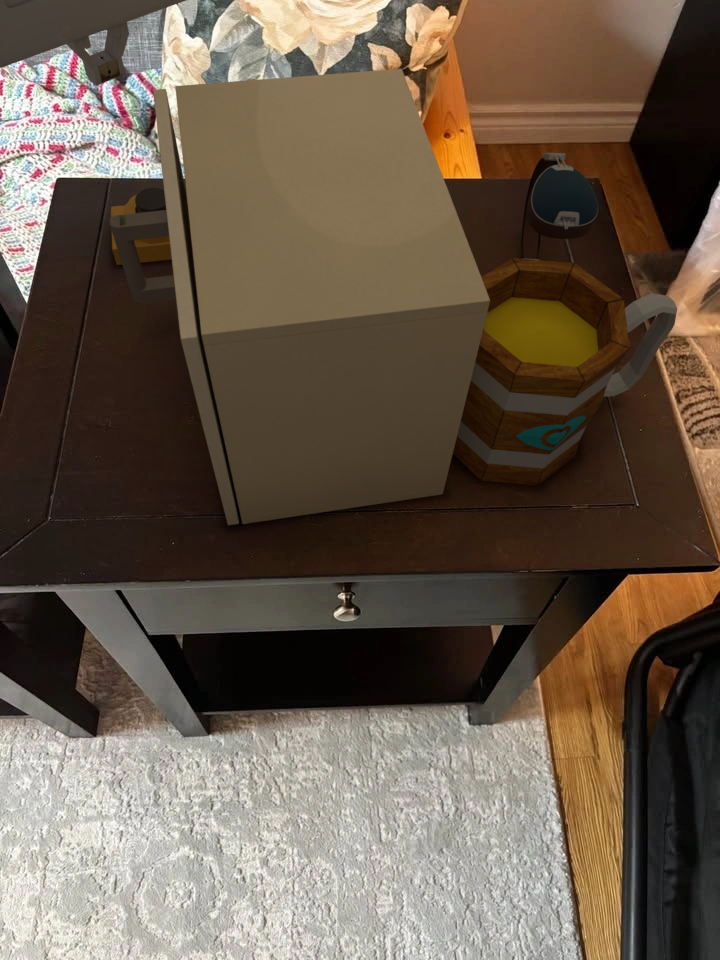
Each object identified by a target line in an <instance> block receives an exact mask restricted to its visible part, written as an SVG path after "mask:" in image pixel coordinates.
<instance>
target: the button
mask: <svg viewBox="0 0 720 960" xmlns="http://www.w3.org/2000/svg"><path fill="white" fill-rule="evenodd" d="M135 195H136V198H135V203H136V207H137V210H138V213H143V212H152V211H162V210H166V202H165V193H164V188H160V187H148V188H144V189H143V190H140V191H139V192H138V193H137V194H135Z"/></svg>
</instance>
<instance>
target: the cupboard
mask: <svg viewBox="0 0 720 960" xmlns="http://www.w3.org/2000/svg"><path fill="white" fill-rule="evenodd" d="M174 87H175V97H176V98H175V99H176V105H177V106H176V107H177V115H178V123H179V124H178V125H179V127H178V128H179V134H180V146H181V153H182V155H181V156H182V164H183V175H184V183H185V188H186V193H187V203H188V213H189V222H190V232H191V241H192V251H193V260H194V270H195V279H196V289H197V298H198V308H199V317H200V327H201V335H202V340H203V344H204V349H205V354H206V359H207V363H208V368H209V372H210V377H211V382H212V386H213V391H214V395H215V400H216V405H217V409H218V414H219V418H220V423H221V428H222V432H223V437H224V441H225V446H226V451H227V455H228V460H229V464H230V469H231V474H232V478H233V483H234V489H235V497H236V502H237V507H238V509H239V510H238V511H239V514H240V519H241V520H240V521H241V524H242V525H247V524H253V523H259V522H260V523H261V522H267V521H274V520H279V519H286V518H294V517H300V516H306V515H307V516H308V515H314V514H320V513H328V512H332V511H340V510H347V509H353V508H360V507H361V508H362V507H367V506H374V505H379V504H388V503H394V502H400V501H407V500H414V499H421V498H428V497H434V496H440V495H443V494H444V491H445V487H446V482H447V478H448V474H449V470H450V466H451V462H452V458H453V455H454V454H453V450H454V446H455V442H456V438H457V434H458V430H459V426H460V422H461V418H462V414H463V409H464V405H465V401H466V397H467V393H468V389H469V385H470V381H471V377H472V373H473V369H474V365H475V361H476V357H477V352H478V348H479V344H480V340H481V336H482V332H483V328H484V324H485V320H486V316H487V311H488V307H489V303H490V299H489V296H488V294H487V291H486V288H485V286H484V283H483V280H482V278H481V277H482V275H481V273H480V270H479V267H478V265H477V262H476V260H475V257H474V254H473V251H472V249H471V247H470V244H469V241H468V238H467V236H466V233H465V231H464V228H463V226H462V223H461V220H460V219H459V218H460V217H459V215H458V213H457V210H456V207H455V205H454V202H453V199H452V197H451V194H450V192H449V189H448V186H447V184H446V181H445V178H444V176H443V173H442V171H441V168H440V165H439V162H438V160H437V158H436V155H435V153H434V149H433V147H432V145H431V142H430V140H429V137H428V134H427V131H426V129H425V126H424V124H423V120H422V118H421V115H420V113H419V110H418V108H417V105H416V103H415V99H414V97H413V95H412V92H411V90H410V86H409V84H408V81H407V79H406V76H405V73H404V71H403V68H393V69H379V70H378V69H377V70H369V71H368V70H367V71H355V72H354V71H353V72H341V73H329V74H328V73H327V74H315V75H312V74H311V75H299V76H288V77H275V78H262V79H250V80H237V81H235V80H234V81H224V82H223V81H222V82H212V83H211V82H210V83H197V84H185V85H184V84H183V85H175V86H174Z"/></svg>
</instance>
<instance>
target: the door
mask: <svg viewBox="0 0 720 960" xmlns="http://www.w3.org/2000/svg"><path fill="white" fill-rule="evenodd" d="M167 91H168V90H167V89H166V88H158V89H157V88H156V89H153V90H152V93H153V102H154V111H155V121H156V127H157V128H156V129H157V139H158V149H159V155H160V164H161V175H162V183H163V190H164V193H165V202H166V210H162V211H152V212H143V213H134V214H125V215H116V216H114V217H112V218H111V217H110V219H109V226H110V230H111V234H112V233H113V236H114V239H115V243H116V246H117V249H118V252H119V256H120V259H121V262H122V265H121V266H122V269H123V272H124V275H125V279H126V282H127V284H128V287H129V291H130V293H131V297H132V300H133V302H134V303H137V304H148V303H154V302H163V301H170V300H175V301H176V302H175V303H176V311H177V318H178V329H179V337H180V338H179V339H180V342H181V346H182V349H183V355H184V358H185V362H186V367H187V369H188V374H189V378H190V382H191V385H192V389H193V394H194V397H195V401H196V405H197V409H198V413H199V418H200V422H201V425H202V430H203V433H204V437H205V440H206V445H207V450H208V453H209V456H210V461H211V464H212V468H213V473H214V477H215V481H216V485H217V488H218V492H219V496H220V500H221V504H222V508H223V512H224V516H225V520H226V524H227V526H235V525H239V524H240V518H239V512H238V511H239V510H238V503H237V497H236V492H235V488H234V483H233V478H232V474H231V469H230V464H229V460H228V455H227V451H226V446H225V441H224V437H223V432H222V428H221V423H220V418H219V414H218V409H217V405H216V400H215V395H214V391H213V386H212V382H211V377H210V372H209V368H208V363H207V359H206V354H205V349H204V344H203V340H202V335H201V327H200V317H199V308H198V298H197V289H196V279H195V270H194V260H193V251H192V241H191V232H190V222H189V213H188V203H187V193H186V184H185V177H184V172H183V169H182V164H181V159H180V154H179V148H178V147H179V146H178V142H177V138H176V137H177V136H176V132H175V128H174V123H173V117H172V112H171V107H170V102H169V97H168V92H167ZM167 236H169V239H170V248H171V257H172V260H171V265H172V274H171V275H163V276H162V275H161V276H155V277H145V273H144V270H143V266H142V263H140V259H139V256H138V252H137V249H136V245H135V242H134V240H141V239H150V238H159V237H167Z"/></svg>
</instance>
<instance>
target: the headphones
mask: <svg viewBox="0 0 720 960" xmlns="http://www.w3.org/2000/svg"><path fill="white" fill-rule="evenodd" d="M565 161H566V152H565V153H564V152H543V155H542V157H541V158H540V159H539V160H538V162H537V163H536V165H535V167H534V169H533V171H532V174H531V178H530V181H529V184H528V189H527V193H526V197H525V204H524V210H523V220H522V229H521V242H520V244H521V257H522V258H521V259H531V260H540V259H539V252H540V246H541V236H543V237H547V238H552V239H559V240H571V239H578V238H583V237H584V236H586V235H588V234H589V233H590V232H591V231H592V229H593V227H594V225H595V223H596V220H597V218H598V215H599V201H598V198H597V197H598V196H597V195H596V192H595V190H594V188H593V186H592V185H591V183H590V182H589V181H588V179H587V178H586V176H585V175H584V174H582V173H581V171H579V170H578V169H576V168H575V167H573V166H571V165H568V164H566V163H565Z"/></svg>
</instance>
